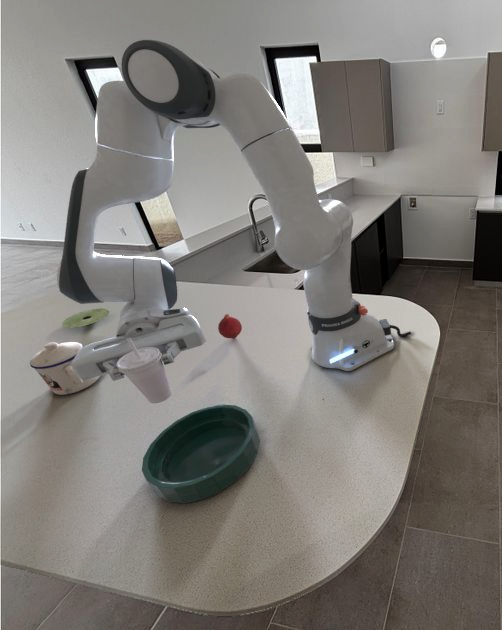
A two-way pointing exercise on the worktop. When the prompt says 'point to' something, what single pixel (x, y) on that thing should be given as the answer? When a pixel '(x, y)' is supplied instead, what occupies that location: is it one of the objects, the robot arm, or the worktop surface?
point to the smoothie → (146, 372)
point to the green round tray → (201, 453)
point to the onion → (229, 327)
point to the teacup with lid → (60, 367)
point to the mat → (85, 318)
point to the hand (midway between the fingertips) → (143, 368)
